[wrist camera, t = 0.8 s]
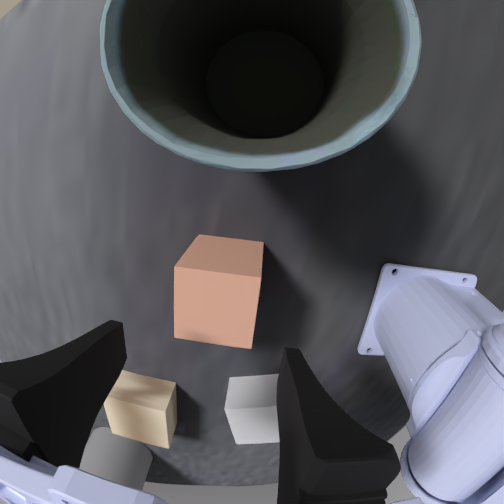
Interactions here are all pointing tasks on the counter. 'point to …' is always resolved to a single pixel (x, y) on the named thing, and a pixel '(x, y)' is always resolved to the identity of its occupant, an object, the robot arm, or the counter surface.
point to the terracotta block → (218, 291)
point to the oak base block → (142, 409)
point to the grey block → (253, 409)
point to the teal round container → (260, 75)
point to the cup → (116, 458)
